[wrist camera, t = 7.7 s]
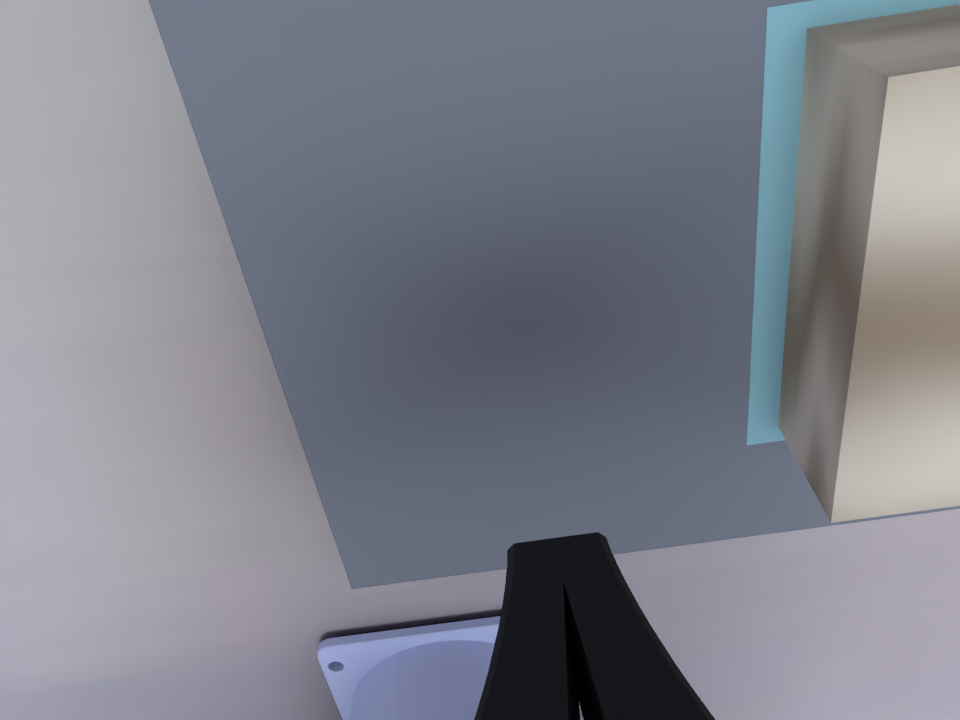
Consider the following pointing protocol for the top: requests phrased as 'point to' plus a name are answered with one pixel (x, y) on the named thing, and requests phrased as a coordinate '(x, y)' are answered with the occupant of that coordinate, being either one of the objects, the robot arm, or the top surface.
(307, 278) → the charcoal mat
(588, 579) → the robot arm
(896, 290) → the maple T block
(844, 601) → the top surface
